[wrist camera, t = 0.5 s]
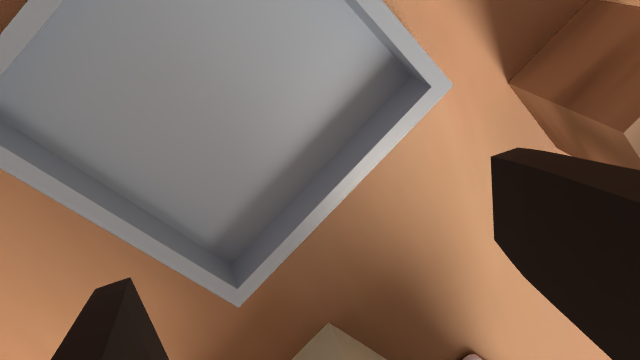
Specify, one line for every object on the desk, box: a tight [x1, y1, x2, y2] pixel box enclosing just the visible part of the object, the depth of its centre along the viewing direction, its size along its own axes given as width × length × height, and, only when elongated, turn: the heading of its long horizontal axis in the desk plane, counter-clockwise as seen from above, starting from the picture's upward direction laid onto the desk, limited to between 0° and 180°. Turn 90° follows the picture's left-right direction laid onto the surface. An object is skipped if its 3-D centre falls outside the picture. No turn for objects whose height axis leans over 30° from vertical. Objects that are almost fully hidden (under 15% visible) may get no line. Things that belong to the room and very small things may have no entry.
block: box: [508, 0, 640, 170], centre depth 20 cm, size 4×4×6 cm
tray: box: [0, 0, 453, 308], centre depth 17 cm, size 11×11×2 cm
